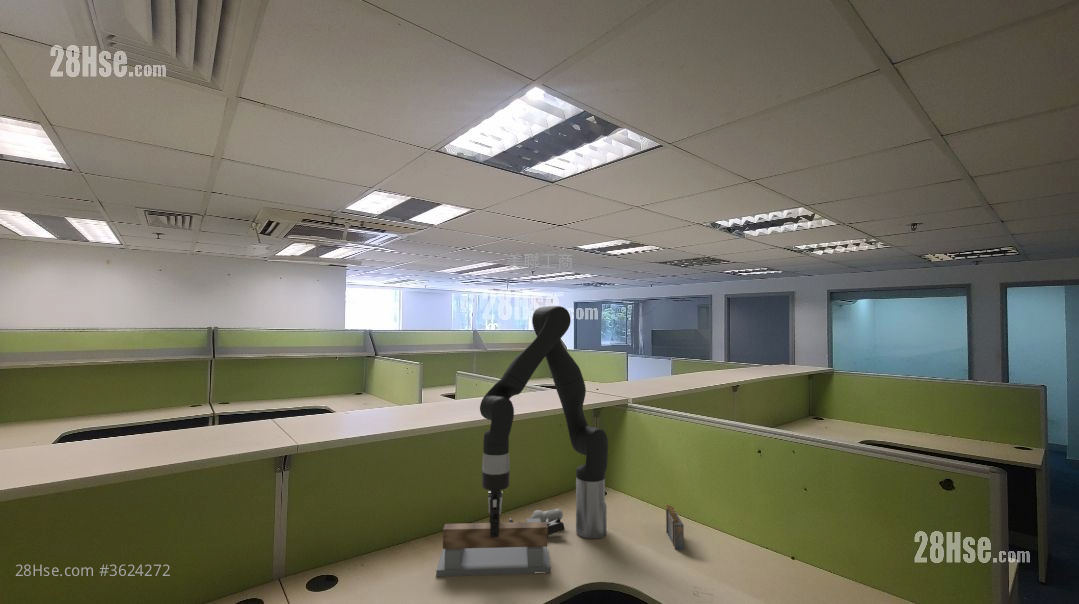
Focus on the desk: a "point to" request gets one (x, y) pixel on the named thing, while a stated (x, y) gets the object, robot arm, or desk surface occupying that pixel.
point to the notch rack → (494, 560)
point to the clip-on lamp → (549, 519)
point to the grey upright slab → (674, 528)
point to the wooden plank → (508, 537)
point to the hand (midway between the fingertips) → (495, 529)
